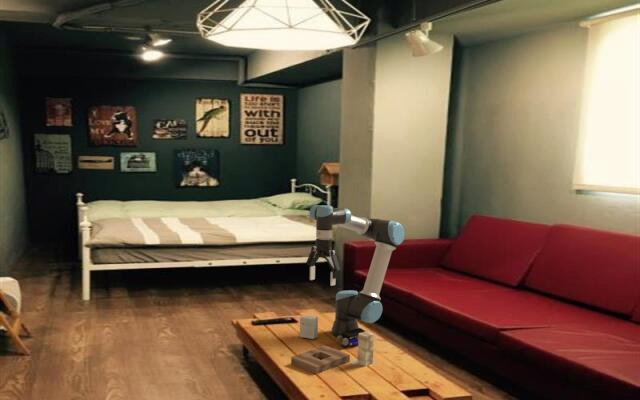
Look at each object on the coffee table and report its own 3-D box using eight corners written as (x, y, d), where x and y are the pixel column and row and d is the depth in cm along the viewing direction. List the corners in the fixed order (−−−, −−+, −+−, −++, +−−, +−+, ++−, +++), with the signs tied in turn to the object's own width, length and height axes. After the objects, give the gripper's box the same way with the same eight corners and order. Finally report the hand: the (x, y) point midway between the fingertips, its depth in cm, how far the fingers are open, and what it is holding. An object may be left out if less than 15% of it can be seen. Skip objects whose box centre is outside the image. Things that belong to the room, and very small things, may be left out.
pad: (363, 358, 273) (363, 357, 273) (380, 365, 266) (380, 363, 266) (349, 364, 266) (349, 363, 266) (366, 370, 259) (366, 369, 259)
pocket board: (324, 353, 278) (324, 345, 278) (349, 363, 267) (349, 354, 267) (291, 365, 262) (291, 356, 262) (316, 376, 251) (316, 367, 251)
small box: (317, 335, 302) (318, 316, 301) (313, 339, 297) (314, 319, 296) (303, 333, 305) (304, 314, 304) (299, 337, 300) (300, 317, 299)
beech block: (364, 360, 269) (365, 331, 268) (372, 363, 266) (374, 334, 264) (357, 363, 266) (358, 333, 264) (365, 366, 262) (367, 336, 261)
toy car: (344, 352, 283) (368, 344, 292) (343, 338, 282) (367, 329, 290) (336, 348, 289) (359, 340, 297) (335, 334, 288) (358, 326, 296)
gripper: (299, 235, 279) (298, 278, 281) (338, 243, 262) (336, 288, 264) (310, 233, 284) (309, 276, 286) (348, 241, 267) (347, 286, 269)
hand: (322, 282), depth 275 cm, fingers open, 13 cm apart
